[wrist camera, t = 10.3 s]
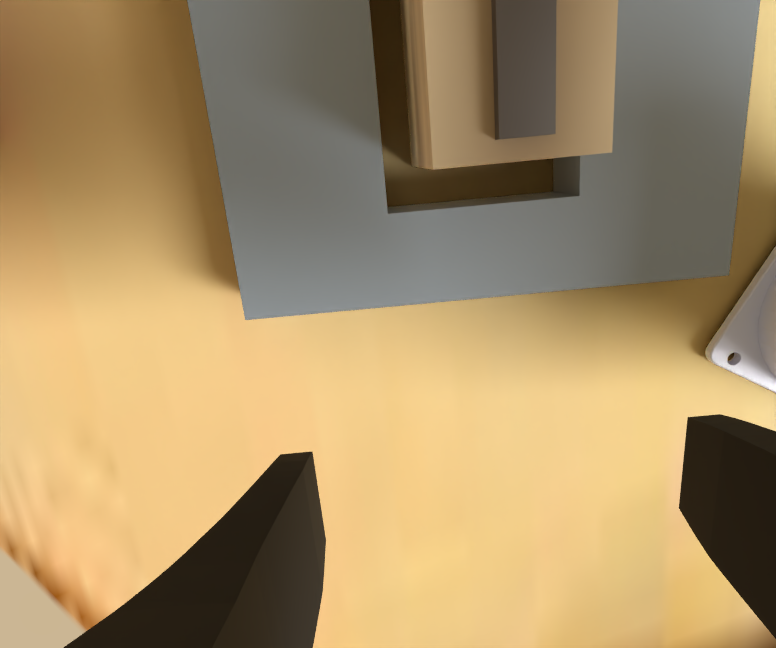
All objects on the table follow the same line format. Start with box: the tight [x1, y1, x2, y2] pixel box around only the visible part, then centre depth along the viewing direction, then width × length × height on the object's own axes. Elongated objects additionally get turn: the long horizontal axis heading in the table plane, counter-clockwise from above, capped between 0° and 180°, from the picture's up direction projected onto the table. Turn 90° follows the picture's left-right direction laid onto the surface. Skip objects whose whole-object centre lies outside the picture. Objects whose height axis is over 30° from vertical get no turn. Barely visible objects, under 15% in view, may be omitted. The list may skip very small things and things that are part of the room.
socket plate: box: [187, 0, 760, 320], centre depth 16 cm, size 16×14×2 cm
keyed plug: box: [399, 0, 618, 170], centre depth 14 cm, size 4×6×7 cm, turn 5°
